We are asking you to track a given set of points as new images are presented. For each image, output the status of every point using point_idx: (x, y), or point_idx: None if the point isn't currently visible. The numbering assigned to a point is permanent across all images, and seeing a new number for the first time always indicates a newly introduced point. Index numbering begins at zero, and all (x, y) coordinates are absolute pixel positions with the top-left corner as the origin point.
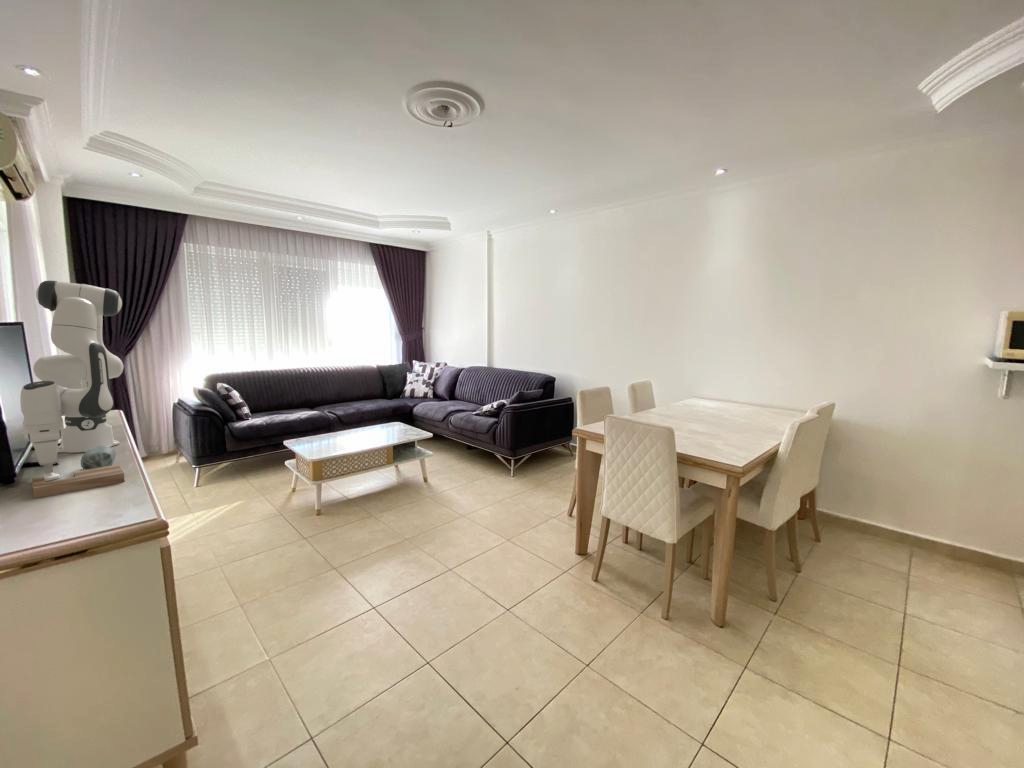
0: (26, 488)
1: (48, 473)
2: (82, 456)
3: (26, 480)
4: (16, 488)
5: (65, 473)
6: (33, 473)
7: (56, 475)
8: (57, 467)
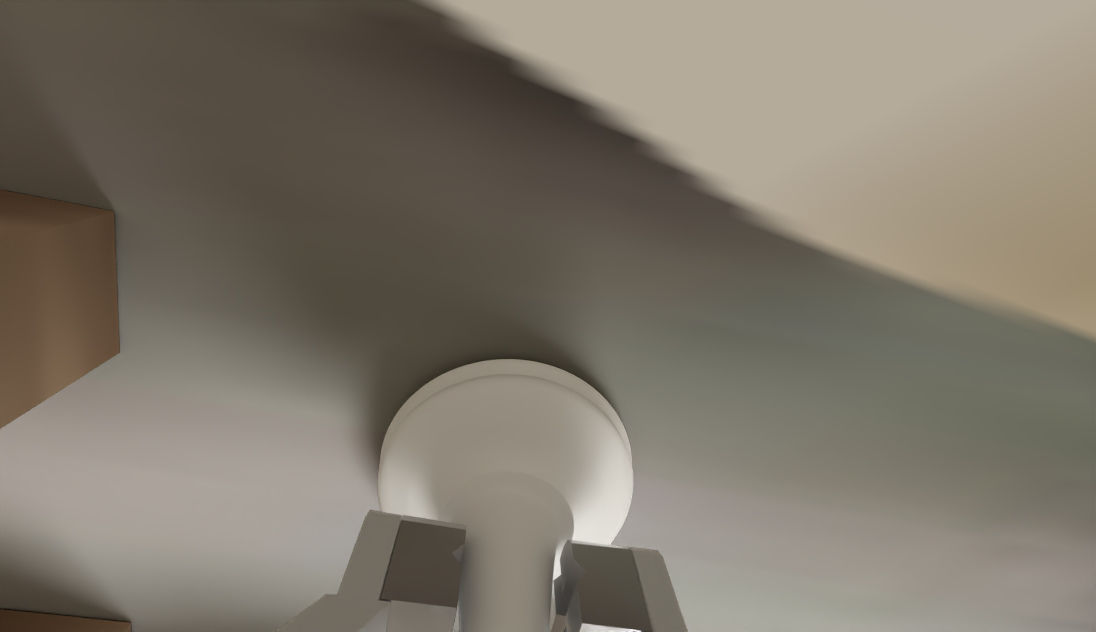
0: (138, 129)
1: None
2: None
3: (726, 255)
4: (279, 18)
5: None
6: (1057, 404)
7: None
8: (1052, 626)
